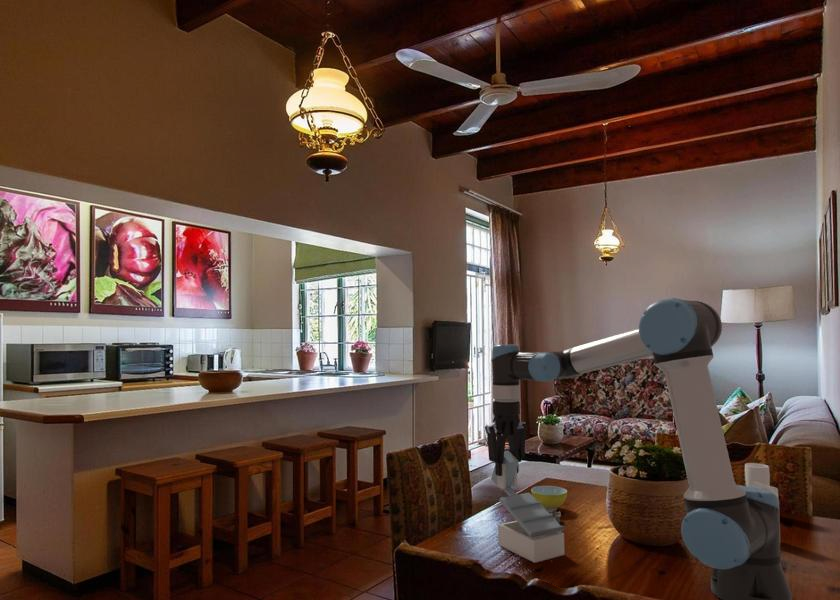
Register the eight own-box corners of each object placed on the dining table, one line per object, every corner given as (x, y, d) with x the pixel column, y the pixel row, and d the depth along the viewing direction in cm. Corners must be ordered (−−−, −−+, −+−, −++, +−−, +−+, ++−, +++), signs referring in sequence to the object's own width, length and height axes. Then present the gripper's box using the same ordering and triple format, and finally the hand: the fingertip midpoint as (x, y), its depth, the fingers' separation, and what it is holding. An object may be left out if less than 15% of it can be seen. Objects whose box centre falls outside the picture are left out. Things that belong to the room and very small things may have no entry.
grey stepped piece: (564, 532, 145) (574, 503, 142) (531, 539, 140) (542, 509, 137) (510, 475, 164) (518, 449, 161) (480, 480, 158) (488, 453, 156)
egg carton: (556, 532, 164) (556, 517, 164) (530, 528, 167) (530, 514, 167) (563, 520, 174) (562, 507, 174) (538, 517, 177) (538, 504, 177)
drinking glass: (741, 511, 182) (739, 464, 183) (755, 509, 185) (753, 462, 186) (761, 518, 176) (760, 468, 177) (776, 515, 178) (774, 466, 179)
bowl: (525, 506, 188) (524, 486, 189) (555, 502, 192) (555, 484, 192) (542, 516, 177) (542, 496, 178) (574, 513, 181) (574, 493, 181)
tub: (564, 557, 144) (564, 533, 145) (534, 565, 139) (534, 540, 140) (527, 540, 156) (527, 518, 157) (498, 547, 151) (498, 524, 152)
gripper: (520, 397, 166) (521, 479, 164) (474, 400, 157) (475, 487, 156) (537, 399, 159) (539, 485, 158) (491, 403, 151) (492, 493, 149)
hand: (507, 486), depth 157 cm, fingers closed on grey stepped piece, 3 cm apart
